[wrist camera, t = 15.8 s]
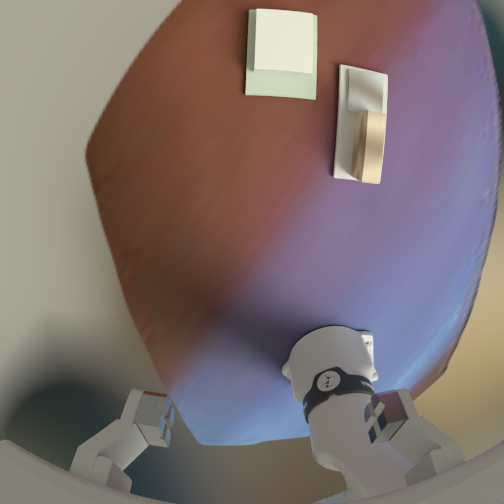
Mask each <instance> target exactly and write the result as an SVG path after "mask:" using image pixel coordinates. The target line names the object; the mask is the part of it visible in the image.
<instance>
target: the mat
mask: <svg viewBox="0 0 504 504" xmlns="http://www.w3.org/2000/svg"><path fill="white" fill-rule="evenodd" d="M256 14H257V10H249V23H248V45H247V69H246V94H245V95H261V96H279V97H292V98H302V99H312V100H316V77H317V16H316V15H313V71H312V74H311V75H310V76H301V75H291V74H279V73H262V72H254V64H255V38H256Z"/></svg>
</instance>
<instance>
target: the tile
mask: <svg viewBox="0 0 504 504" xmlns="http://www.w3.org/2000/svg"><path fill="white" fill-rule="evenodd" d="M312 71H313V14H311V13H304V12H296V11H286V10H273V9H257V14H256V38H255V64H254V72H262V73H279V74H291V75H301V76H310V75H311V74H312Z"/></svg>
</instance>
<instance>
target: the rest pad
mask: <svg viewBox="0 0 504 504" xmlns="http://www.w3.org/2000/svg"><path fill="white" fill-rule="evenodd" d="M349 69H350V70H355V71H360V72H364V73H369V74H373V75H377V76H381V77H383V108H382V113H384V114H387V88H388V75H386V74H382V73H378V72H374V71H370V70H366V69H361V68H356V67H352V66H347V65H339V99H338V119H337V135H336V149H335V161H334V172H333V177H334V178H341V179H350V180H357V179H356V178H354V177H352V176H350V175H351V166H352V156H353V144H354V131H355V116H356V113H353V112H347V91H348V70H349ZM385 130H386V117H385ZM384 142H385V132H384ZM383 153H384V144H383ZM382 162H383V154H382ZM381 171H382V163H381ZM380 179H381V172H380ZM379 183H380V180H379Z"/></svg>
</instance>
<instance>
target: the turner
mask: <svg viewBox="0 0 504 504" xmlns="http://www.w3.org/2000/svg"><path fill="white" fill-rule="evenodd" d="M382 108H383V77H381V76H377V75H373V74H369V73H364V72H360V71H355V70H350V69H349V70H348V91H347V112H353V113H356V116H355V131H354V144H353V156H352V166H351V175H350V176H352V177H354V178H356V179H357V180H359V181H361V182H366V183H374V184H379V180H380V172H381V163H382V154H383V144H384V132H385V117H386V114H384V113H382Z"/></svg>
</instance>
